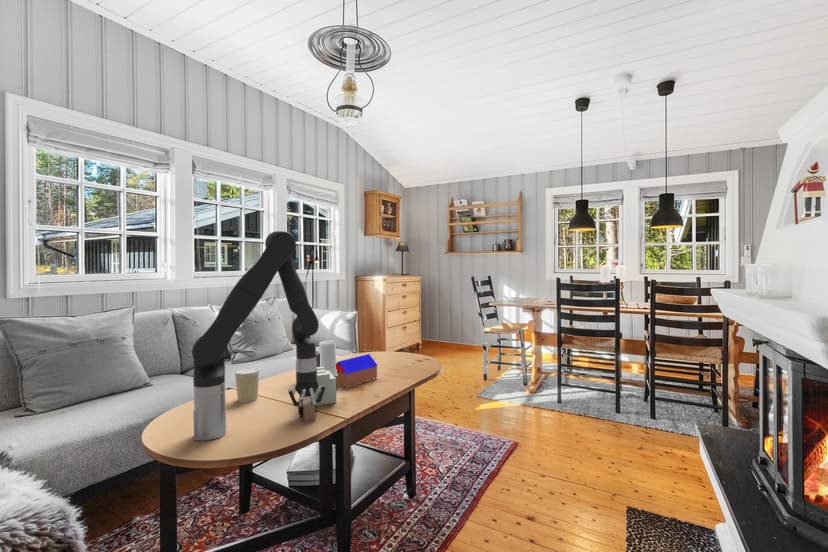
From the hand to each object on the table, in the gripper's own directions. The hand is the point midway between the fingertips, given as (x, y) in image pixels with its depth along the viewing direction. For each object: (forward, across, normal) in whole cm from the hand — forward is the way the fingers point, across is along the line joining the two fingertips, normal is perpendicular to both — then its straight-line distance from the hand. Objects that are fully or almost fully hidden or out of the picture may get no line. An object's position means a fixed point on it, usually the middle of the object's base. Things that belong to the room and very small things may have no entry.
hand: (307, 414), depth 147 cm
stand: (0, +8, +16) cm, 18 cm away
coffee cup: (0, -20, +30) cm, 36 cm away
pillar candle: (0, +9, +46) cm, 47 cm away
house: (+1, +28, +36) cm, 46 cm away
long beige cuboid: (0, 0, 0) cm, 0 cm away
